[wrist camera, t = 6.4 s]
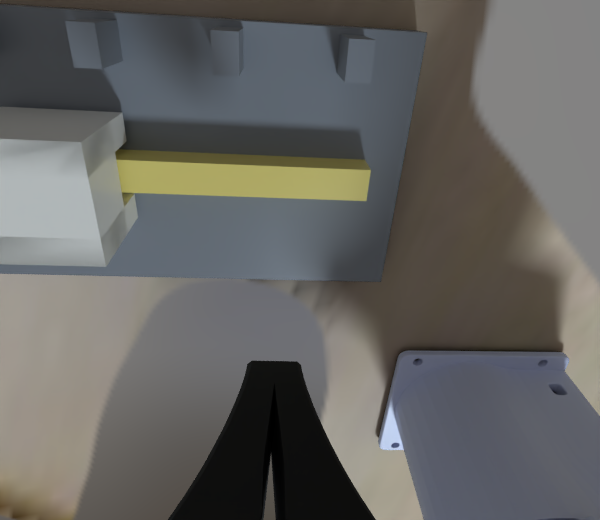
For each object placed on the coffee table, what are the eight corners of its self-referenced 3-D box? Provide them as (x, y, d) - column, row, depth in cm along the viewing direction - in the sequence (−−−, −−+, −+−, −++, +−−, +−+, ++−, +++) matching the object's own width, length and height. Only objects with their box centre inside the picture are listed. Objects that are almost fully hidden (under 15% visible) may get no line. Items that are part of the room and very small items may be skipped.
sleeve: (122, 112, 15) (80, 142, 12) (137, 217, 17) (106, 266, 14) (1, 106, 15) (-75, 135, 11) (32, 213, 17) (-25, 263, 13)
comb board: (417, 30, 15) (450, 37, 12) (375, 267, 20) (392, 311, 18) (-88, -2, 14) (-182, -3, 11) (2, 258, 19) (-46, 304, 16)
